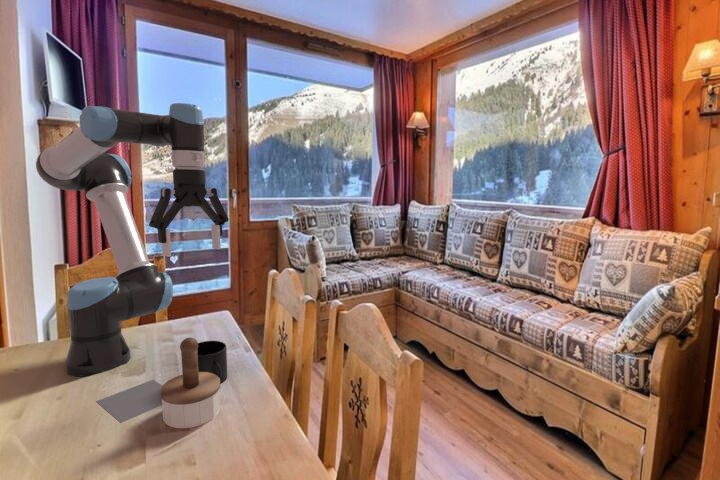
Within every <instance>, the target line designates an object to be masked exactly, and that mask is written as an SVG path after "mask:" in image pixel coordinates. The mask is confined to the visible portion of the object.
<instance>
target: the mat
mask: <svg viewBox="0 0 720 480" xmlns="http://www.w3.org/2000/svg"><path fill="white" fill-rule="evenodd" d="M162 386H163V385H162V384H161V383H159V382H158V381H156V380H155V379H150V380H148V381H145V382H143V383H140V384H138V385H136V386H132V387H129V388H128V389H125V390H121V391H120V392H119V391H118V392H117V393H114V394H112V395H108V396H107V397H106V396H105V397H104V398H101V399H97V400H96V401H95V402H96V403H97V404H98V405H99V406H101V407H102V409H104V410H105V411H106V412H108V414H110V415H111V416H112V417H113V418H114V419H115V420H117V421H118V423H121V424H122V423H125V422H126V421H129V420H131V419H134V418H136V417H138V416H140V415H142V414H145V413H146V412H149V411H151V410H153V409H155V408H158V407H161V406H162V398H161V388H162Z"/></svg>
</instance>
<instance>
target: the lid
mask: <svg viewBox="0 0 720 480" xmlns="http://www.w3.org/2000/svg"><path fill="white" fill-rule="evenodd" d="M198 343H199V342H198V341H197V339H196V338H194V337H185V338H184V339H183V340H182V341H181V342H180V345H179V350H180V352H181V353H180V357H181V370H182V374H180V375H177V376H175V377H173V378H171V379H169V380H167V381H166V382H164V384H163V385H162V388H161V398H162V399H163V400H164V401H165V402H167V403H170V404H177V405H183V404H191V403H196V402H200V401H202V400H205V399H207V398H209V397H211V396H213V395H214V394H215V393H216V392H217V391H218V390H219V388H220V389H221V384H220V378H219V377H218V376H217V375H215V374H213V373H209V372H198V352H197V349H198Z"/></svg>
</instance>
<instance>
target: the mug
mask: <svg viewBox="0 0 720 480" xmlns="http://www.w3.org/2000/svg"><path fill="white" fill-rule="evenodd" d="M197 352H198V372H209V373H213V374H215V375H217V376H218V377H219V378H220V385H221V384H224V382H225V381H227V379H228V355H227V345H226V343H225V342H222V341H220V340H205V341H201V342H198V349H197Z"/></svg>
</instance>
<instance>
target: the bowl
mask: <svg viewBox="0 0 720 480" xmlns="http://www.w3.org/2000/svg"><path fill="white" fill-rule="evenodd" d="M220 389H221V387H220V388H219V390H218V391H217V392H216V393H215V394H214V395H213V396H211V397H209V398H207V399H205V400H202V401H200V402H196V403H191V404H183V405H177V404H170V403H167V402H165V401H164V400H163V399H162V405H161V406H162V407H161V408H162V420H163V421H164V423H165V424H166V425H167V426H169V427H171V428H176V429H189V428H190V429H191V428H193V427H194V428H195V427H199V426H201V425H204V424H206V423H207V422H208V423H209V421H211V420H213V419H214V418H216V417H217V415H218V414H219V413H220V410H221V393H220V392H221V391H220Z"/></svg>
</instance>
